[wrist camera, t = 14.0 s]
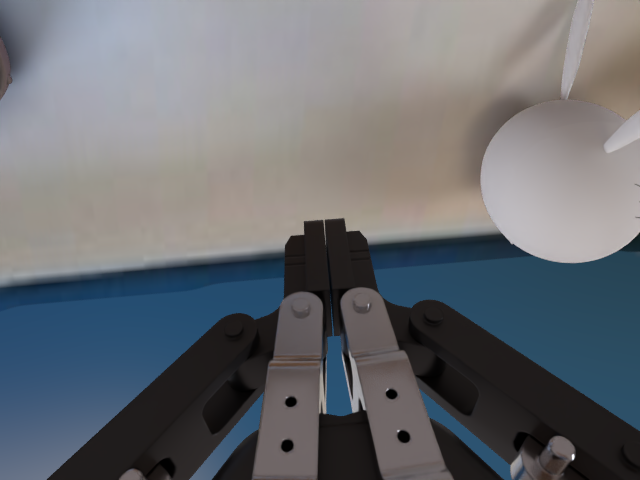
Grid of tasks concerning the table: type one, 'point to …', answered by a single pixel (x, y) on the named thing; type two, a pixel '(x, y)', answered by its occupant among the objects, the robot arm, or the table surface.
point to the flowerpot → (4, 69)
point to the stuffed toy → (566, 171)
